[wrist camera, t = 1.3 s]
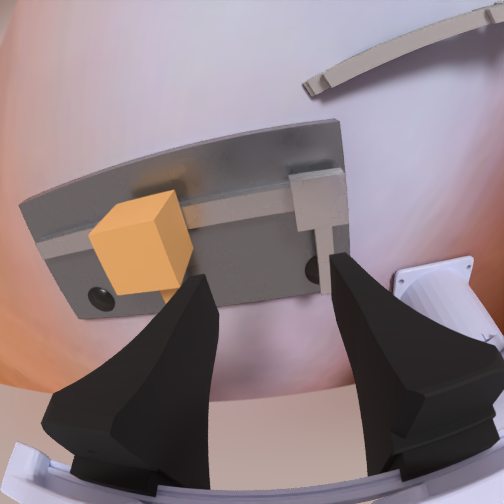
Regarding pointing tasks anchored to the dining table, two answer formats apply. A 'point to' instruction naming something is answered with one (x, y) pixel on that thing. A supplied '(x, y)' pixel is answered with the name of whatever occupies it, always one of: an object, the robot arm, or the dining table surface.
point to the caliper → (404, 46)
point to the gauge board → (211, 217)
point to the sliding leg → (144, 245)
